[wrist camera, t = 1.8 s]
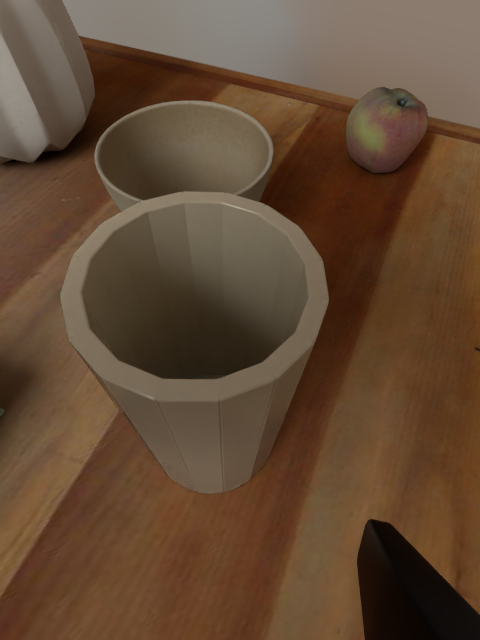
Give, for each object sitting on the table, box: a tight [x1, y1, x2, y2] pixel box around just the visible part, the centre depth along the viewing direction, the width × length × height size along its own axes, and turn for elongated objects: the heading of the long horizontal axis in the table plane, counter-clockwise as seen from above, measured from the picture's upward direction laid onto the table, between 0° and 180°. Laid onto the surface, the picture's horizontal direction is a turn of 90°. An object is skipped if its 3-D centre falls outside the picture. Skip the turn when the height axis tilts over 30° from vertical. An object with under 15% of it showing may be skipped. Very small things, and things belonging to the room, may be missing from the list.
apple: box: [346, 87, 428, 173], centre depth 30 cm, size 6×8×6 cm
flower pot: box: [95, 101, 274, 212], centre depth 24 cm, size 10×10×7 cm
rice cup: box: [60, 191, 329, 494], centre depth 14 cm, size 6×6×12 cm
